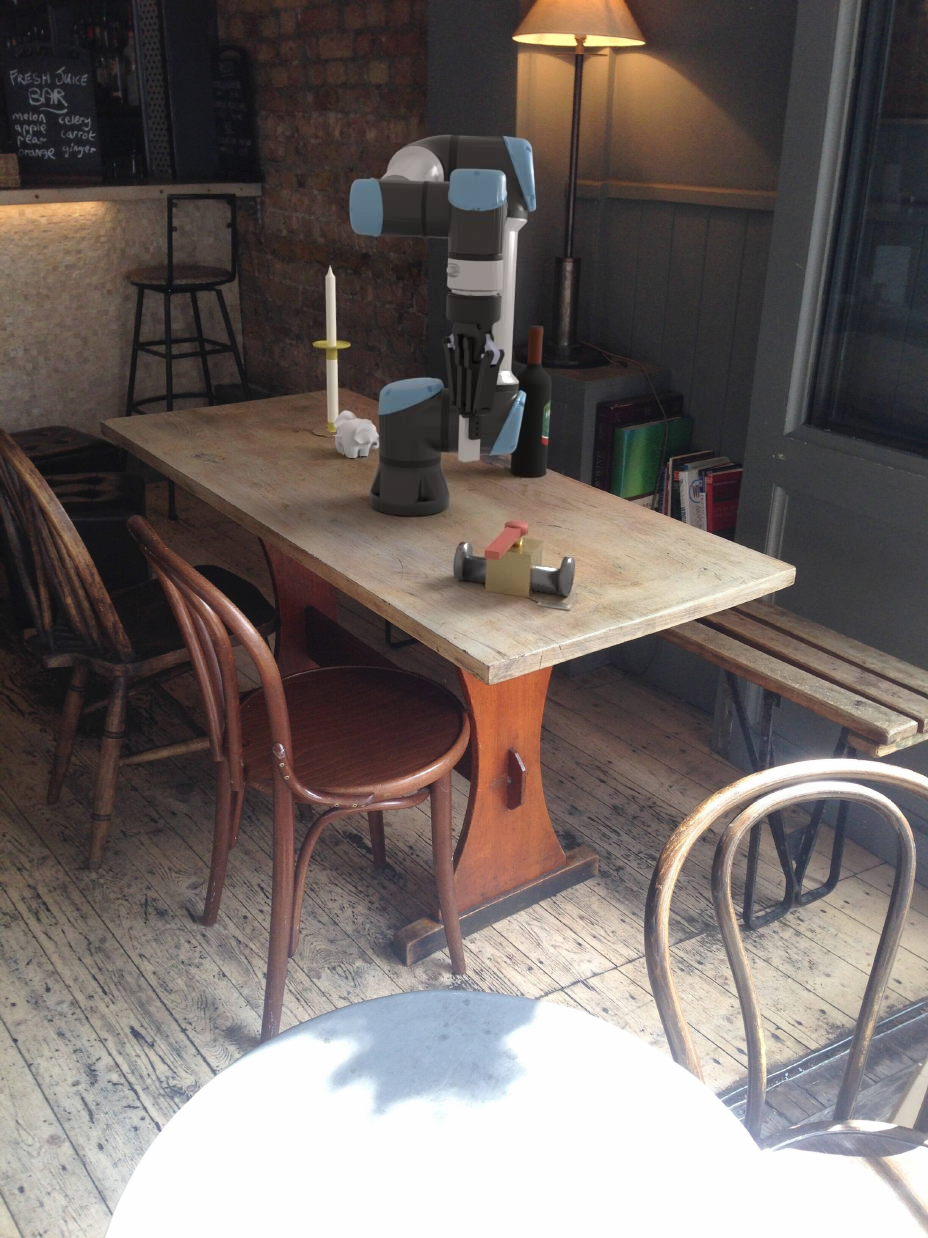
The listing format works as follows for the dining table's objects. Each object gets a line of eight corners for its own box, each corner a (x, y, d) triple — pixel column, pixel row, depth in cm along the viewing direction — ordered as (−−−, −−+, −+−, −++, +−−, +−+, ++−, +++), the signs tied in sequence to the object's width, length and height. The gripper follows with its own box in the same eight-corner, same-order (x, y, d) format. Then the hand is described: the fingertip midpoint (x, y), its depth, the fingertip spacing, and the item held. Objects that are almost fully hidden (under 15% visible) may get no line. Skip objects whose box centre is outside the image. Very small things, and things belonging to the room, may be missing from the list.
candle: (352, 438, 251) (350, 267, 236) (308, 436, 251) (303, 266, 236) (356, 427, 260) (355, 262, 245) (314, 426, 260) (310, 261, 245)
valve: (446, 590, 169) (448, 537, 166) (466, 570, 177) (467, 519, 174) (569, 610, 164) (573, 555, 160) (583, 588, 172) (587, 536, 168)
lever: (508, 527, 170) (508, 519, 170) (530, 530, 169) (530, 522, 169) (479, 557, 158) (480, 549, 157) (503, 560, 157) (504, 552, 156)
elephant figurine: (393, 456, 238) (393, 415, 235) (344, 463, 232) (343, 422, 229) (371, 445, 246) (371, 406, 242) (323, 452, 239) (322, 412, 236)
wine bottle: (508, 467, 233) (515, 323, 221) (543, 467, 234) (552, 323, 221) (512, 477, 226) (520, 329, 214) (548, 477, 227) (558, 329, 215)
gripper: (426, 286, 152) (424, 451, 162) (476, 298, 142) (470, 474, 152) (472, 284, 156) (467, 446, 165) (523, 296, 146) (515, 468, 155)
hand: (468, 459), depth 158 cm, fingers closed
